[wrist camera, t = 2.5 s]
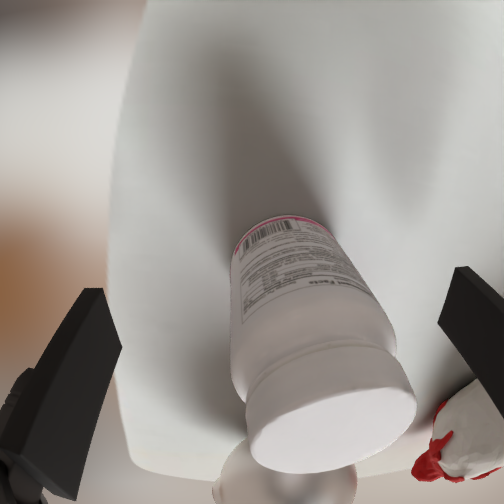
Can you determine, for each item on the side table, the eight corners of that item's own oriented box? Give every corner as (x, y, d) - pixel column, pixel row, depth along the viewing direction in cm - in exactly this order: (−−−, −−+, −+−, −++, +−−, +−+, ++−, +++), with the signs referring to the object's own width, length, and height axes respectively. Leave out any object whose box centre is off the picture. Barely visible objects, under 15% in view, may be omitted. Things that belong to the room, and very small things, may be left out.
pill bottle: (318, 315, 15) (370, 473, 7) (221, 300, 14) (214, 478, 6) (354, 225, 13) (468, 371, 5) (244, 200, 12) (260, 367, 4)
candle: (539, 339, 18) (446, 428, 26) (486, 332, 16) (372, 438, 24) (579, 411, 10) (466, 492, 18) (540, 439, 8) (390, 520, 16)
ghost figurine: (200, 404, 18) (192, 554, 9) (350, 389, 18) (393, 529, 9) (221, 461, 22) (221, 566, 13) (333, 450, 22) (355, 550, 13)
